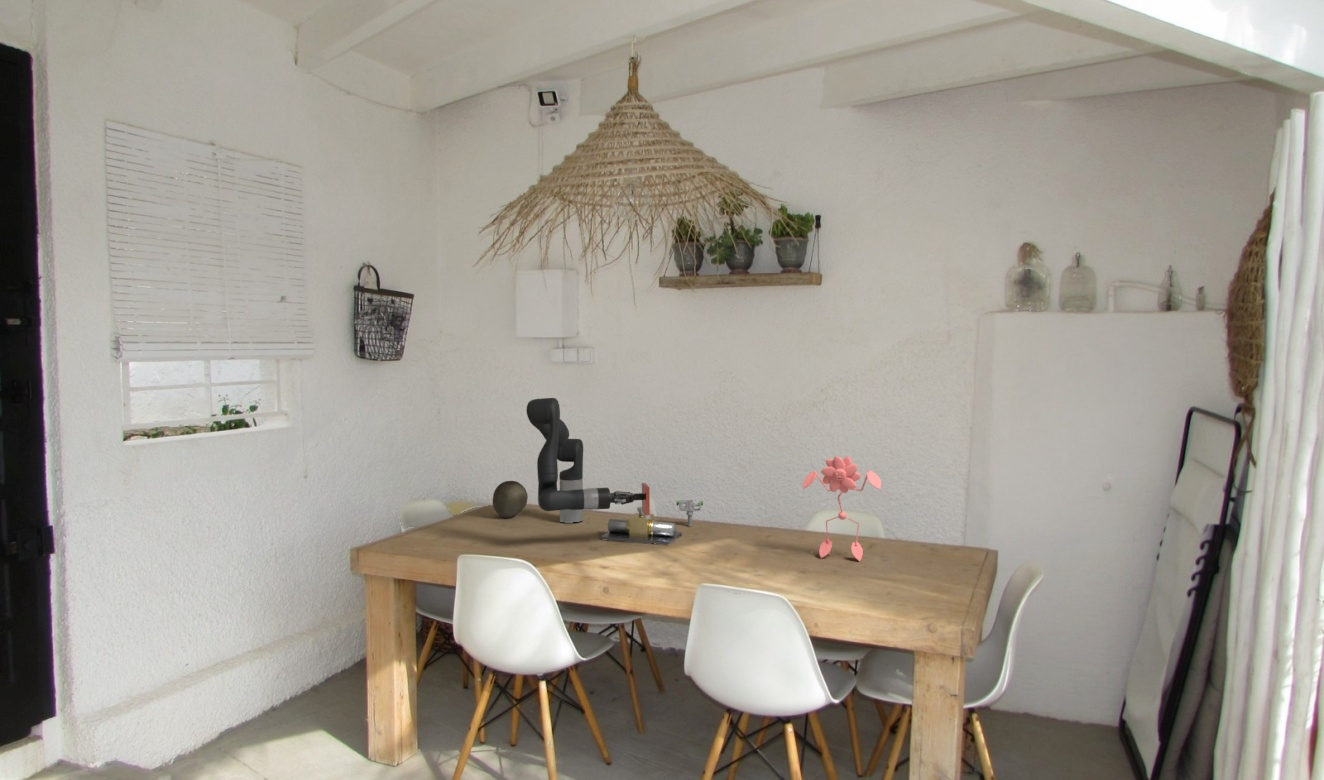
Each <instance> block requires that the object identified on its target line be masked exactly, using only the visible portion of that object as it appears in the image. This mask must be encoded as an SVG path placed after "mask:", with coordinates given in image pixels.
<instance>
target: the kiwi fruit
mask: <svg viewBox="0 0 1324 780" xmlns="http://www.w3.org/2000/svg"><path fill="white" fill-rule="evenodd" d="M492 495H493V496H492V506H493V509H494V511H495V512H496V514H497V515H498V516H500V517H502V518H504V519H510V518H513V517H516V516H518V515H519V514H520V513H521V512H522V511H523V510H524V509H525V508H526V506H527V504H528V497H529V496H528V492H527V490H526V487H525V486H523V484H522V483H520V482H519V481H516V480H505V481H503V482H501V483H500V484H498V485H497V486H496V488H495V490H494V492H493V494H492Z"/></svg>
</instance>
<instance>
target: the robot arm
mask: <svg viewBox="0 0 1324 780" xmlns="http://www.w3.org/2000/svg"><path fill="white" fill-rule="evenodd" d="M525 411H526V415H527V419H528V421H529V422H530V424H531V425H532V426H534V428H536V429H537V430H538V431H539V432H540V434H541V435H542V437H543V438H544V439H545V442H544V443H543V446H542V448H541V449H540V451H539V454H538V457H537V461H536V465H537V466H536V469H537V482H538V488H537V502H538V503H537V504H538V506H539V508H540V509H541V510H542V511H544V512H552V511H553V512H555V511H559V523H560V522H565V523H564V524H574V523H573V522H579V521H582V520H583V521H584V510H588V511H591V510H592V511H596V510H609V509H610V508H611V504H612V503H613V504H614V505H627V504H630V503H634V501H642V500H644V494H643V493H642V492H639V493H638V492H637V493H635V492H634V493H633V492H630V491H619V490H615V491H613V492H610V491H611V490H610V488H609V487H591V488H590V487H589V488H584V487H583V484H584V482H583V479H584V478H583V472H584V470H583V469H584V466H583V465H584V463H583V462H584V443H583V441H582V439H581V438H569V437H570V430H569V428H568V426H567V425H566V423H565V422H564V421H563V420H562V419H561V409H560V403H559V401H558V399H557V398H556V397H547V398H546V397H545V398H544V397H543V398H542V397H541V398H535V399H531V400H529V402H528V403H527V404H526V410H525ZM558 461H560V462H563V463H565V462H566V463H573V465H572V466H571V467H569V468H567V469H564V470H561V471H560V472H558V467H559V466H558ZM558 473H559V474H558ZM558 480H559V490H558ZM583 521H582V522H583ZM579 523H580V522H579Z"/></svg>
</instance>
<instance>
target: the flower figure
mask: <svg viewBox="0 0 1324 780" xmlns="http://www.w3.org/2000/svg"><path fill="white" fill-rule="evenodd" d="M825 464H826V467H824V468H822V470H820V473H821V474H822V475H823V478H821V477H820V476H819V474H818V473H817V470H813V472H810V473H809V474H808V475H807V476H806V477H805V478H804V480H803V482H802V489H803V490H805V489H807V488H808V487H810V486H811V485H812V484H813V483H814V481H815V480H816V477H817V479H818V480H819V481H820V483H821V484H822V485H823V487H824V488H825V489H826V490H827V492H832V493H835V492H837V491H838V490H840V492H839V494H838V495H837V502H838V505H839V508H840V511H839V512H838V515H837V516H835V517H833V518H830V519H827V520H826V521H825V528H826V539H824V540H823V541H822V542H821V544H820V545H819V549H818V551H819V558H820V559H823V558H824V557H826V556H831V550H832V547H833V541H832V540H831V539H830V538H829V532H828V531H829V530H828V522H830V521H833V520H835V519H839V520H841V521H844V520H846V519H847V520H849V521H851V522H853V523H856V524H857V529H856V538H855V541H853V542H852V543H851V547H850V551H851V553H852V556H853V557H854V558H855V559H856V560H858V562H861V560H862V557H863V555H864V554H863V553H864V550H863V547H862V546H861V544H860V543H859V542H858V537H859V529H860V522H858V521H855V520H853V519H852V518H849V517H847V513H846V511H843V506H842V504H841V499H840V497H841V495H842V494H847V493H848V491H849V490H850V491H851V490H852V491H855V492H863V490H864V487H865V485H866V482H867V480H868V482H869V484H870V485H871V486H873V487H874V488H875V489H877V490H881V489H882V480H881V478H880V476H879V475H878V474H877V473H875V472H874V471H871V470H870V469H867V472H866V476H865V478H864V481H863V483H862V486H861V489H860V488H857V483H856V481H858V480H859V479H861V477H862V475H861V473H859V472H857V471H858V465H857V464H856V463H854V464H853V460H852V458H851V457H850V456H845V457H844V458H841V457H839V456H837V455H836V456H834V457H833V459H832V458H827V459H825ZM828 484H829V488H828V487H827V485H828ZM812 553H813V551H811V552H810V554H812Z"/></svg>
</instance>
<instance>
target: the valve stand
mask: <svg viewBox="0 0 1324 780" xmlns="http://www.w3.org/2000/svg"><path fill="white" fill-rule="evenodd" d="M654 516H655V514H654V513H650V519H645V517H644V516H643V515H642V514H641V512H635V513H633V514H632V515H630V516H629V518H627V519H623V518H613V517H612V518H609V519H608V522H607V529H608V530H607V532H605V533H604V534H602V535H600V540H601V539H607V540H606V541H610V540H619V541H618V542H622V541H631V542H630V543H634V542H644V543H643V544H646V543H656V544H655V545H658V544H667V545H666V546H669V545H671V544H672V543H673V542H675V541H676V540H677V539H679V538H680V537H681V536H680V535H683V532H682V531H677V525H676V523H675V522H665V521H657V520H656V519H655V517H654ZM679 536H680V537H679ZM678 537H679V538H678ZM676 538H677V539H676ZM675 539H676V540H675ZM674 540H675V541H674ZM672 541H673V542H672ZM671 542H672V543H671ZM670 543H671V544H670ZM668 544H669V545H668Z"/></svg>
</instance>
